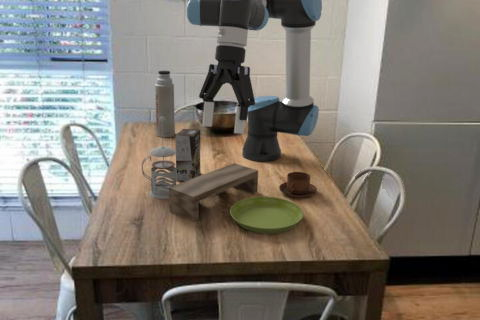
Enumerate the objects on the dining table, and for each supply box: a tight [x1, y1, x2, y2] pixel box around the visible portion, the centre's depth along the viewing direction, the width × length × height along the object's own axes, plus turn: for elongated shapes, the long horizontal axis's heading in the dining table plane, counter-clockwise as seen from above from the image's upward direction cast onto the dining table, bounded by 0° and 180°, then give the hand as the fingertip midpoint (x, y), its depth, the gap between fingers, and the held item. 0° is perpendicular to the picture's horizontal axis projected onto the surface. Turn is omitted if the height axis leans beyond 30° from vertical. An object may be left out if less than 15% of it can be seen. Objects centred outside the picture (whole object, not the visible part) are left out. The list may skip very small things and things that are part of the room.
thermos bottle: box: [154, 70, 176, 138], centre depth 218 cm, size 8×8×28 cm
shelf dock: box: [168, 162, 259, 222], centre depth 154 cm, size 10×29×8 cm, turn 140°
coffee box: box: [175, 128, 201, 182], centre depth 172 cm, size 9×6×16 cm
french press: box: [141, 117, 177, 200], centre depth 156 cm, size 10×12×25 cm
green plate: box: [229, 196, 304, 235], centre depth 143 cm, size 21×21×3 cm
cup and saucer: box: [279, 171, 318, 199], centre depth 162 cm, size 12×12×6 cm
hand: (222, 129), depth 130 cm, fingers open, 13 cm apart
